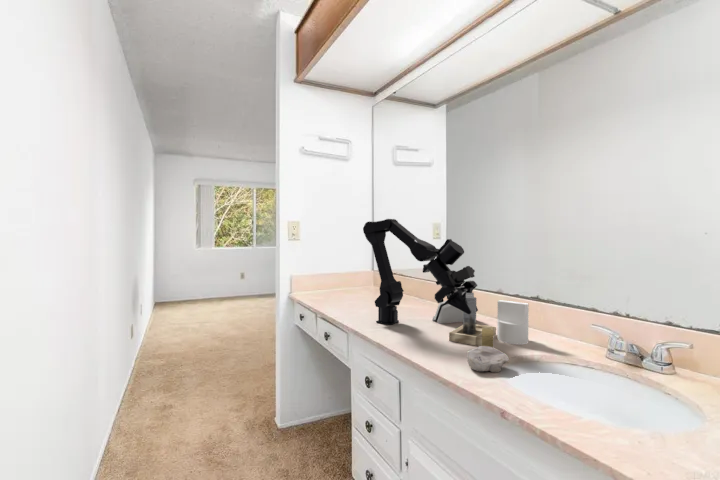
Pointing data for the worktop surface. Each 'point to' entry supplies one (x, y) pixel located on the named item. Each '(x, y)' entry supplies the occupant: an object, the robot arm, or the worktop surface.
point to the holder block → (468, 335)
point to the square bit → (487, 336)
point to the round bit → (470, 319)
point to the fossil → (486, 359)
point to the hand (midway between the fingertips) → (473, 312)
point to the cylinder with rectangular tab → (512, 322)
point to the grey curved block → (447, 314)
